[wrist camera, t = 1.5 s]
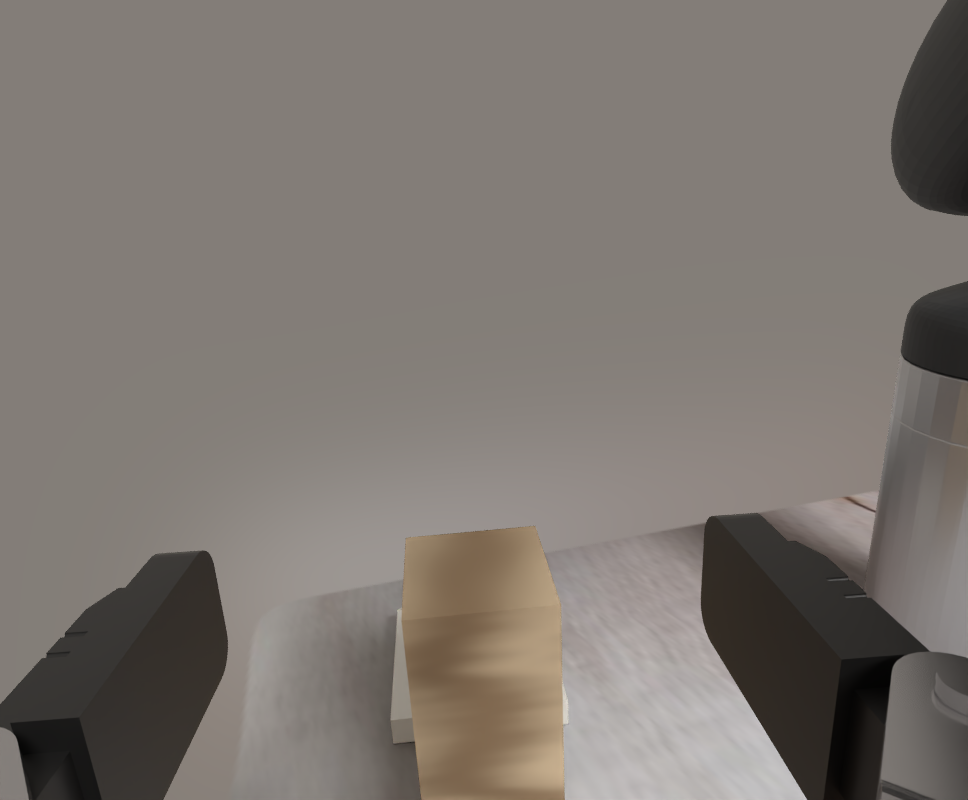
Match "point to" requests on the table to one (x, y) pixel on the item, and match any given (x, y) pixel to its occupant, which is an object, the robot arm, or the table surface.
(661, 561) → the table surface
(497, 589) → the oak block
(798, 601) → the robot arm
